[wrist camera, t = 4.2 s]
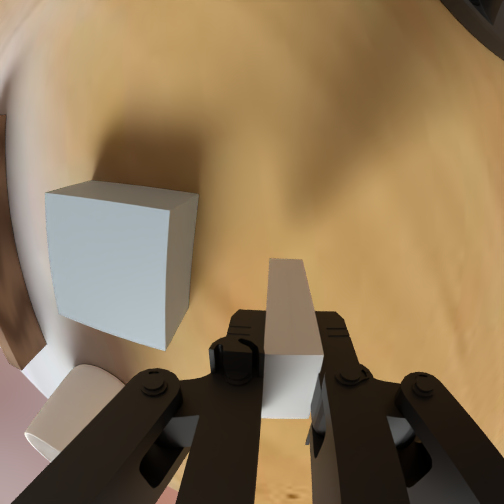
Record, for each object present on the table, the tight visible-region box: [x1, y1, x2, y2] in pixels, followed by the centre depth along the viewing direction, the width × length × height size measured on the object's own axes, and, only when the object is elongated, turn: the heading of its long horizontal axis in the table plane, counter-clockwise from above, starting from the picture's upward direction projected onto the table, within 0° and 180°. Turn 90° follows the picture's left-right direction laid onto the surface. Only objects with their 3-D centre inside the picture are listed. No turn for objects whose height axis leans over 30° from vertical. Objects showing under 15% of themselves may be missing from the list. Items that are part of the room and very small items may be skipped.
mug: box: [24, 364, 125, 462], centre depth 20 cm, size 9×12×11 cm
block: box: [45, 180, 199, 351], centre depth 16 cm, size 8×8×5 cm
